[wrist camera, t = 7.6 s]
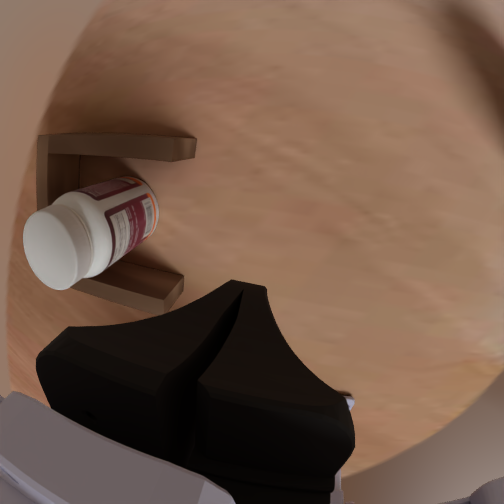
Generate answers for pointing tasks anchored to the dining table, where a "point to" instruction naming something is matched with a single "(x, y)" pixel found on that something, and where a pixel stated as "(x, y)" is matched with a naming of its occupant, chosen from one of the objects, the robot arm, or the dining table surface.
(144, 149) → the brown u-shaped block
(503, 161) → the dining table surface
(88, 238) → the pill bottle
